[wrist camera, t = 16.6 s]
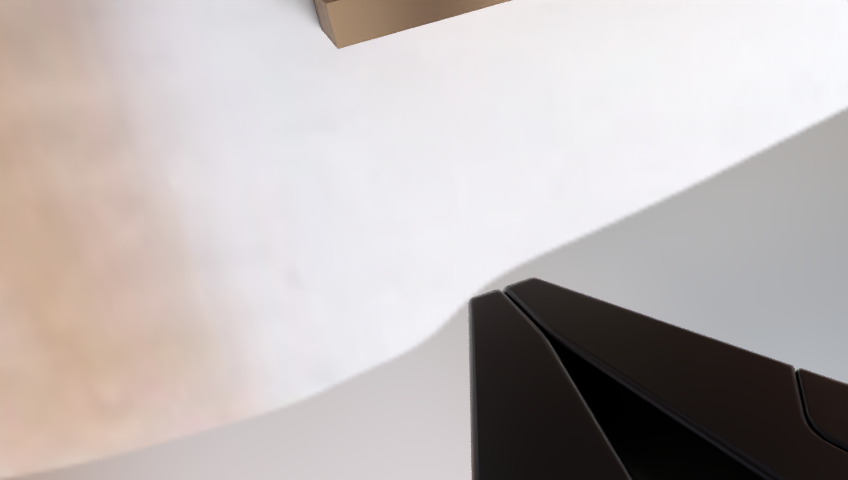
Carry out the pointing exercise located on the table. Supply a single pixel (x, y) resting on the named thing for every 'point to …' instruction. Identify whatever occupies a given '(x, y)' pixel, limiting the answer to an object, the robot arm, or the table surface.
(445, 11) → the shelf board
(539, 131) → the table surface
